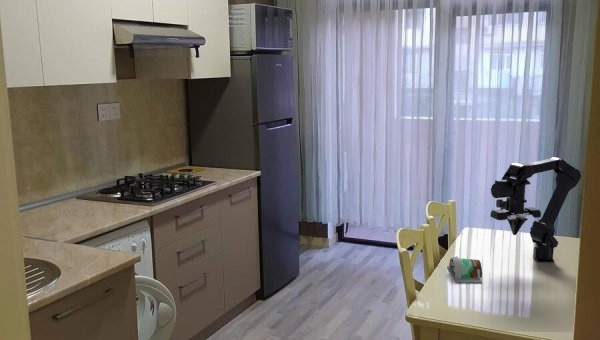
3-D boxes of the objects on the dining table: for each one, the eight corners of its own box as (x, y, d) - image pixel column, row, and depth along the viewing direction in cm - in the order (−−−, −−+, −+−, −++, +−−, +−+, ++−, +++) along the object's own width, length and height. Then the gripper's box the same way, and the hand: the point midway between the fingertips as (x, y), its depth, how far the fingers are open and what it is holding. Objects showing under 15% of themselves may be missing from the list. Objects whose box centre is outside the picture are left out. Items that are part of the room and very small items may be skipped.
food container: (483, 263, 206) (456, 262, 207) (483, 279, 208) (455, 278, 208) (475, 252, 219) (449, 251, 219) (474, 267, 220) (448, 267, 220)
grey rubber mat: (471, 267, 221) (471, 266, 221) (482, 283, 205) (482, 281, 205) (447, 267, 221) (447, 266, 221) (455, 283, 206) (455, 281, 206)
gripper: (526, 190, 229) (523, 227, 232) (484, 192, 225) (482, 230, 228) (543, 196, 219) (540, 235, 221) (499, 199, 215) (497, 238, 218)
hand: (514, 234), depth 222 cm, fingers closed
